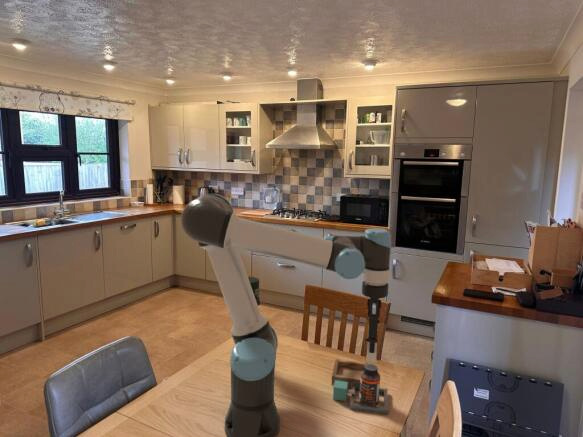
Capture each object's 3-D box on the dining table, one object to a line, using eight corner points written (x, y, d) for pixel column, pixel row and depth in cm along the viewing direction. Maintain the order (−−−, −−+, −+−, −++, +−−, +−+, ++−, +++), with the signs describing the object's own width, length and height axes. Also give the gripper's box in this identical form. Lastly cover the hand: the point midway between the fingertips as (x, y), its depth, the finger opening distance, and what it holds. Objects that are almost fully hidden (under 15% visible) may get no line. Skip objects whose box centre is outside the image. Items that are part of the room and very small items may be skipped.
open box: (331, 384, 135) (331, 376, 134) (335, 367, 146) (335, 359, 145) (366, 389, 133) (367, 380, 132) (367, 371, 144) (368, 363, 143)
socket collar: (349, 409, 122) (349, 404, 122) (352, 388, 133) (352, 384, 132) (387, 414, 120) (387, 409, 120) (387, 393, 130) (387, 389, 130)
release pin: (333, 399, 127) (333, 387, 126) (334, 391, 130) (334, 380, 130) (354, 402, 125) (355, 390, 125) (355, 394, 129) (355, 383, 128)
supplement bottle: (357, 404, 125) (359, 369, 123) (361, 393, 130) (362, 360, 128) (377, 408, 123) (379, 373, 121) (380, 398, 128) (382, 364, 126)
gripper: (363, 270, 132) (360, 334, 136) (360, 293, 110) (356, 370, 113) (387, 271, 131) (384, 337, 134) (389, 296, 108) (384, 374, 112)
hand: (371, 352), depth 124 cm, fingers open, 10 cm apart
